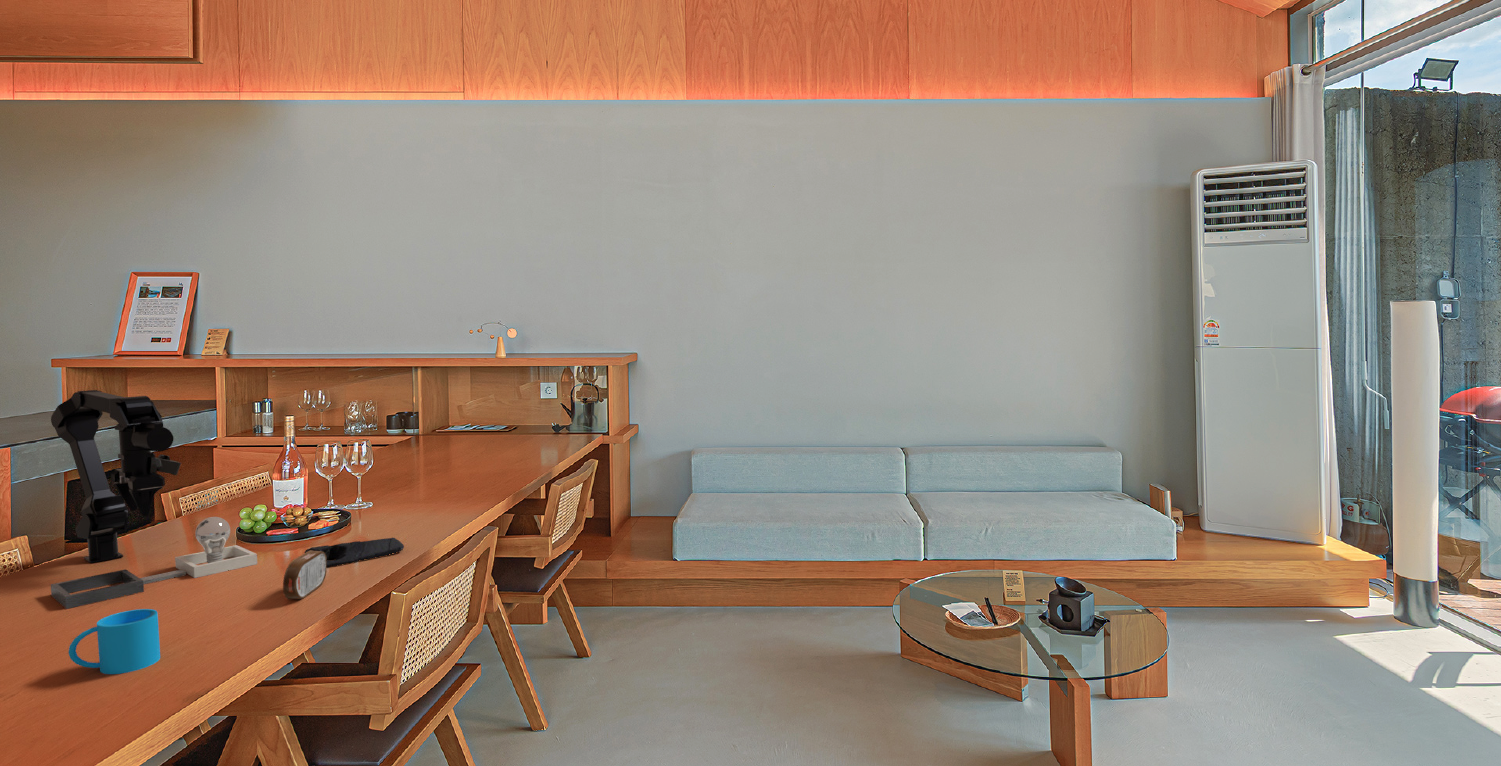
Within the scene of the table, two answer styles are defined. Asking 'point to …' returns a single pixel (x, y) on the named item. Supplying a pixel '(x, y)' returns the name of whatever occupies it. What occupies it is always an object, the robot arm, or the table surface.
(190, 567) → the collar
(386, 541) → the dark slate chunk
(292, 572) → the tin
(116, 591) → the collar
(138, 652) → the mug
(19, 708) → the table surface
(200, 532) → the light bulb
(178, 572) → the rail strip
